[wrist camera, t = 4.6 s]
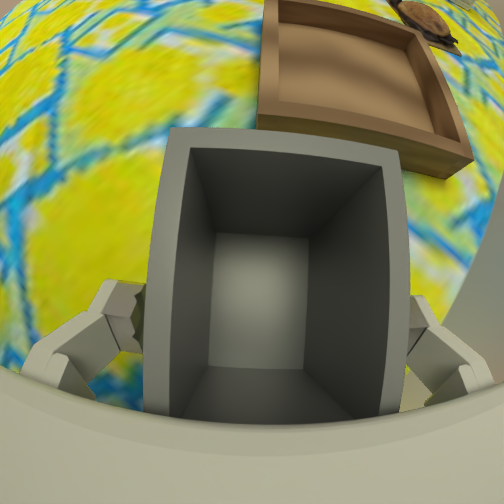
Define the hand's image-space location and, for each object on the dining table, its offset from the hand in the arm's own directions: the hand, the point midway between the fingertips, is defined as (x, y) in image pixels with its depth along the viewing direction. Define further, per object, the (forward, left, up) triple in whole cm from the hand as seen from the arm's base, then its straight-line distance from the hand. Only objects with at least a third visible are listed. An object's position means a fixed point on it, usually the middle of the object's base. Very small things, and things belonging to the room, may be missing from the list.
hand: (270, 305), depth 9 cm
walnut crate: (+13, +11, -5) cm, 18 cm away
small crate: (0, 0, -5) cm, 6 cm away
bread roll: (+32, +20, -6) cm, 39 cm away
